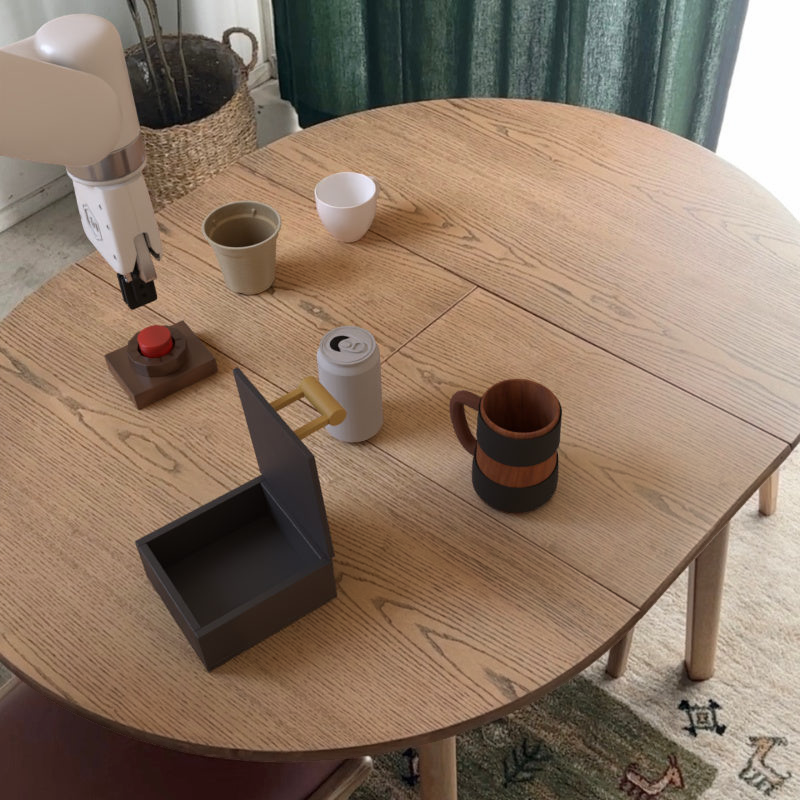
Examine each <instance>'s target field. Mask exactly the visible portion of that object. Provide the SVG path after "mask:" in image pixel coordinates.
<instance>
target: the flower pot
mask: <svg viewBox="0 0 800 800" xmlns="http://www.w3.org/2000/svg"><path fill="white" fill-rule="evenodd" d="M282 223H283V222H282V216H281V214H280V213H279V212H278V210H277V209H276V208H274V206H271V205H269V204H267V203H265V202H262V201H259V200H243V199H242V200H235V201H231V202H228V203H225V204H224V203H223V204H222V205H220V206H217V207H216V208H214V209H212V210H211V211H210V212H209V213H208V214H207V215H206V216H205V217H204V219H203V220H202V224H201V233H202V235H203V237H204V239H205V241H207V242H208V244H209V246H210V247H211V249H213V252H214V255H215V258H216V260H217V263H218V266H219V269H220V273H221V274H222V277H223V280H224V283H225V286H226V287H227V288H228V290H230V291H231V292H232V293H233V292H234V293H235V294H239V293H240V294H244V295H247V296H249V295H250V296H252V295H257V294H260V293H262V292H265V291H266V290H268V289H269V288H271V287H272V285H273V283H274V281H275V280H276V264H277V263H276V261H277V240H278V237H279V233H280V231H281V230H282V229H281V228H282Z"/></svg>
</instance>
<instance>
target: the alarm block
mask: <svg viewBox="0 0 800 800" xmlns="http://www.w3.org/2000/svg"><path fill="white" fill-rule="evenodd" d="M161 326H164V327H166V328H168V329H169V331H170V334H171V338H172V342H173V348H172V350H171V351H170V352H169V353H168V354H167V355H165V356H163V357H160V358H148V357H146V356H144V355H143V354H142V353H141V350H140V346H139V343H138V335H139V333H140V332H141V331H142V330H143V329H141V330H139V331H136V333H135V334H134V335H133V336H132V337H131V338H130V339H129V340H128V341H127V344H126V345H124V346H122V347H119V348H117V349H115V350H113V351H111V352H108V353H106V354H104V355H103V356H104V360H105V363H106V366H107V369H108V371H109V372H110V373H111V375H112V376H113V378H114V379H115V380H116V382H117V383H118V384H119V386H120V387H121V389H122V390H123V391H124V393H125V394H126V396H127V397H128V398H129V400H130V401H131V402H132V403H133V404H132V405H134V407H135V408H136V409H137V410H138V411H139V410H141V409H143V408H145V407H148V406H150V405H151V404H154V403H155V402H158V401H160V400H162V399H164V398H166V397H168V396H171V395H173V394H175V393H177V392H180V391H182V390H183V389H185V388H187V387H189V386H191V385H194V384H195V383H198V382H200V381H203V380H205V379H206V378H209V377H210V376H212V375H215V374H217V373H218V372H219V369H218V364H217V359H216V357H215V356H214V354H213V353H212V352H211V351H210V350H209V349H208V348H207V347H206V345H205V344H204V343H203V342H202V341H201V339H200V338H199V337H198V336H197V335H196V334H195V332H194V331H193V330H192V329H191V327H190V326H189V325H188V324H187V323H186V321H184V319H182V320H180V321H178V322H176V323H173V324H170V325H166V324H164V325H161Z"/></svg>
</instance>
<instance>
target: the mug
mask: <svg viewBox="0 0 800 800" xmlns="http://www.w3.org/2000/svg"><path fill="white" fill-rule="evenodd" d="M448 405H449V407H448V408H449V416H450V422H451V425H452V429H453V431H454V434H455V437H456V438H457V440H458V442H459V444H460V445H461V446H462V448H463V449H464V450H465V451H466V452H467V453H468V454H469V455H471V456H473V458H472V461H471V483H472V487H473V489H474V491H475V493H476V495H477V496H478V497H479V498H480V499H481V500H482V501H483V503H485V504H487V505H488V507H490V508H492V509H494V510H496V511H498V512H501V513H504V514H510V515H522V514H528V513H530V512H533V511H535V510H538V509H540V508H541V507H543V506H544V505H546V504H547V503H548V502H550V500H551V499H552V498H553V496H554V495H555V493H556V491H557V487H558V481H559V466H560V465H559V463H560V460H559V459H560V457H559V451H558V449H559V446H560V444H561V431H562V419H563V408H562V404H561V402H560V400H559V398H558V397H557V396H556V395H555V394H554V392H553V391H552V390H551V389H549V388H548V387H546V386H545V385H543V384H541V383H539V382H537V381H535V380H531V379H526V378H509V379H504V380H501V381H498V382H496V383H494V384H492V385H491V386H490V387H488V388H487V389H486V390H485V392H484V393H483V394H482V396H480V395H477V394H476V393H474V392H472V391H470V390H466V389H465V390H464V389H461V390H457V391H456V392H453V394H452V395H451V397H450V399H449V404H448ZM465 406H466V407H468V408H470V409H473V410H474V411H476V412H477V417H476V432H475V434H476V438H475V436H474V435H473V433H472V430H471V428H470V426H469V423H468V420H467V415H466V412H465Z"/></svg>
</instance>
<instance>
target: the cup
mask: <svg viewBox="0 0 800 800" xmlns="http://www.w3.org/2000/svg"><path fill="white" fill-rule="evenodd" d="M380 190H381V186H380V181H379V178H377V177H376V176H373V175H369V176H367V175H365V174H363V173H359V172H353V171H342V172H336V173H332V174H330V175H327V176H325V177H324V178H322V179H321V180H320V181H318V183H317V184H316V185H315V188H314V200H315V206H316V207H315V208H316V212H317V214H318V218H319V220H320V222H321V224H322V226H323V227H324V229H325V230H326V231H327V232H328V233H329V234H330V235H331V236H332V238H334V239H336V240H337V241H339V242H341V243H355V242H357V241H359V240H361V239H362V238H363V237H364V236H365V235H366V233H368V231H369V230H370V228H371V227H372V225H373V222H374V219H375V216H376V212H377V207H378V205H377V203H378V199H379V196H380Z"/></svg>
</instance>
